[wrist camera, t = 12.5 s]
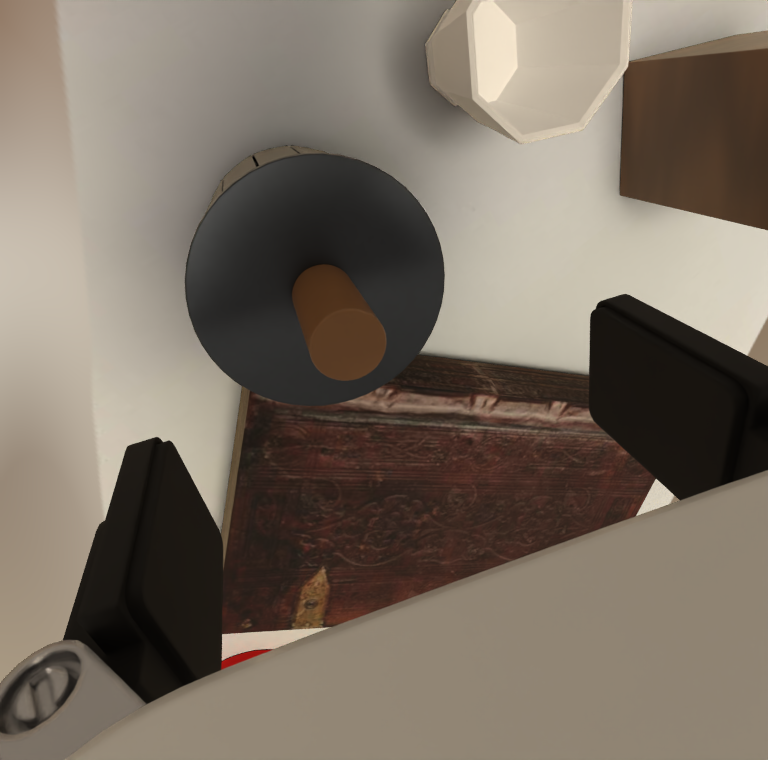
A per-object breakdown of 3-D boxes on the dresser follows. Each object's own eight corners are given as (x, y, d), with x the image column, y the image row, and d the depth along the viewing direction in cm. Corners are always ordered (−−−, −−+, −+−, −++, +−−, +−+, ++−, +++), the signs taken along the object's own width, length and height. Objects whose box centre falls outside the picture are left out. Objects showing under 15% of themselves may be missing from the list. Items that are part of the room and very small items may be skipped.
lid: (137, 193, 17) (104, 226, 13) (419, 122, 18) (484, 128, 14) (239, 430, 22) (242, 517, 18) (454, 361, 24) (511, 426, 19)
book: (644, 379, 39) (696, 413, 35) (552, 564, 46) (585, 610, 42) (250, 329, 29) (253, 367, 25) (215, 572, 37) (213, 634, 32)
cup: (384, 117, 26) (440, 123, 19) (433, -142, 22) (529, -255, 15) (505, 148, 28) (595, 163, 21) (571, -82, 24) (708, -155, 17)
